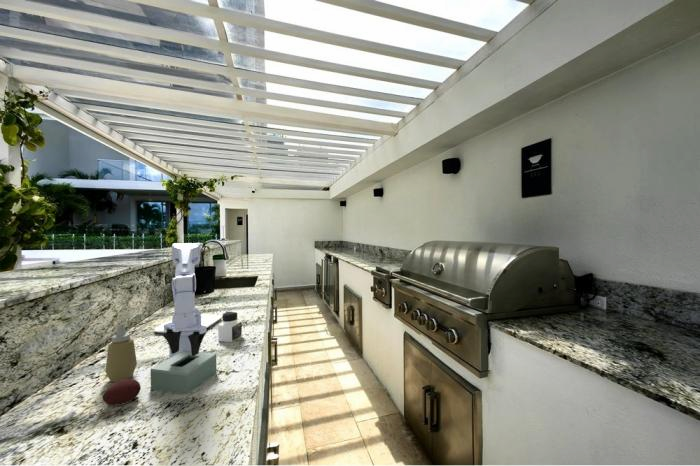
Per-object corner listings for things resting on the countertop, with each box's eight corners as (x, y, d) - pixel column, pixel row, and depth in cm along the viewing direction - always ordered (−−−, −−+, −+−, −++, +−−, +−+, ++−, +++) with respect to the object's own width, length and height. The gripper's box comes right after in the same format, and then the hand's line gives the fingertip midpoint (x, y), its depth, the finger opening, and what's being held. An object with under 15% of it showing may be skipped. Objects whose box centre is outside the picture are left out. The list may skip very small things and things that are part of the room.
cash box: (150, 389, 84) (150, 368, 84) (184, 368, 97) (184, 350, 97) (186, 394, 82) (186, 373, 81) (216, 372, 94) (216, 353, 94)
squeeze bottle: (142, 373, 93) (142, 321, 93) (116, 386, 86) (115, 329, 85) (126, 369, 96) (126, 319, 96) (99, 382, 88) (98, 326, 88)
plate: (200, 335, 127) (200, 330, 127) (148, 335, 128) (148, 330, 128) (225, 318, 152) (225, 314, 152) (181, 318, 153) (181, 314, 153)
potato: (109, 397, 80) (109, 377, 80) (144, 391, 83) (143, 371, 83) (98, 413, 73) (98, 391, 73) (136, 405, 77) (136, 384, 76)
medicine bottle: (232, 342, 119) (232, 315, 119) (217, 341, 120) (217, 314, 120) (242, 336, 126) (241, 310, 126) (228, 335, 127) (228, 309, 127)
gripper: (155, 314, 86) (155, 357, 87) (194, 317, 84) (195, 361, 84) (173, 308, 93) (174, 347, 94) (210, 310, 90) (211, 351, 91)
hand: (185, 353), depth 89 cm, fingers open, 7 cm apart
